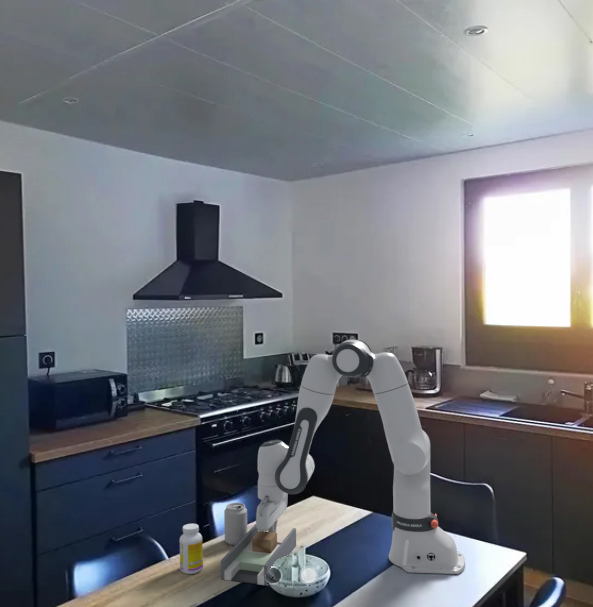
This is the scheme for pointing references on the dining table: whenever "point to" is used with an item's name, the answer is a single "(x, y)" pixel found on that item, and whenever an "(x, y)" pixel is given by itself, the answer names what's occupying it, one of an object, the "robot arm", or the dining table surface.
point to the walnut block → (264, 542)
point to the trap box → (253, 559)
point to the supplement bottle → (191, 549)
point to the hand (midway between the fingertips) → (272, 534)
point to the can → (235, 522)
